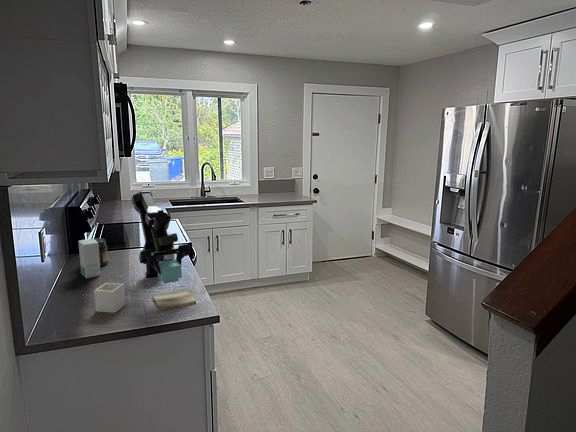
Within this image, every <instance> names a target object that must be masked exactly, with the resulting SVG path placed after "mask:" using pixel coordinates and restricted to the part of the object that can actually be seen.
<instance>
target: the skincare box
mask: <svg viewBox="0 0 576 432" xmlns="http://www.w3.org/2000/svg"><path fill="white" fill-rule="evenodd" d="M78 251H79V252H78V253H79V262H80V264H79V265H80V274H81V275H82V276H83V277H85V279H90V278H94V277H98V276H99V277H100V276H101V275H102V274H101V273H102V272H101V267H100V257H99V243H98V242H97V241H96V240H94V238H88V239H81V240H78Z"/></svg>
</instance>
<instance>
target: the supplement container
mask: <svg viewBox="0 0 576 432" xmlns="http://www.w3.org/2000/svg"><path fill="white" fill-rule="evenodd" d="M93 239H94V240H96V241H97V242H98V243H99V257H100V268H102V267H103V266H105V265H107V264H108V263H109V256H108V245H107V244H106V239H105V238H102V237H101V238H99V237H96V238H93Z"/></svg>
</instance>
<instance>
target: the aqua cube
mask: <svg viewBox="0 0 576 432" xmlns="http://www.w3.org/2000/svg"><path fill="white" fill-rule="evenodd" d="M158 265H159V268H160V271H161V275H159V274H158V276H157V277H158V278H159V279H160V280H161V281H162V282H163V284H170V283H174V282H179V279H181V278H182V275H183V274H182V264H181V265H180V264H179V263H178V262H177V261H176V259H174V260H173V259H172V260H166V261H160V262H159V263H158Z"/></svg>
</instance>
